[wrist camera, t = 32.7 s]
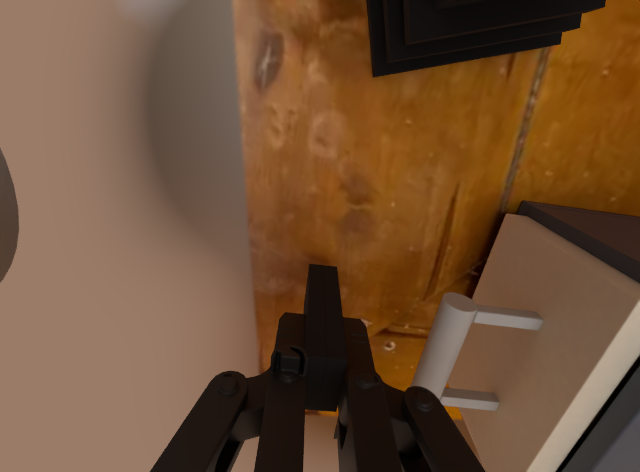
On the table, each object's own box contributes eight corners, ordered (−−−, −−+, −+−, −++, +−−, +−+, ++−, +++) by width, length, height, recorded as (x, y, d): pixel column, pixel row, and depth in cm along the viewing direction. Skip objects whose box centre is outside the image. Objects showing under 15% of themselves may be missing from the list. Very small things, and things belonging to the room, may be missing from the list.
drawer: (379, 364, 21) (408, 500, 14) (426, 201, 17) (504, 282, 10) (631, 392, 22) (777, 534, 15) (741, 246, 18) (1028, 349, 10)
